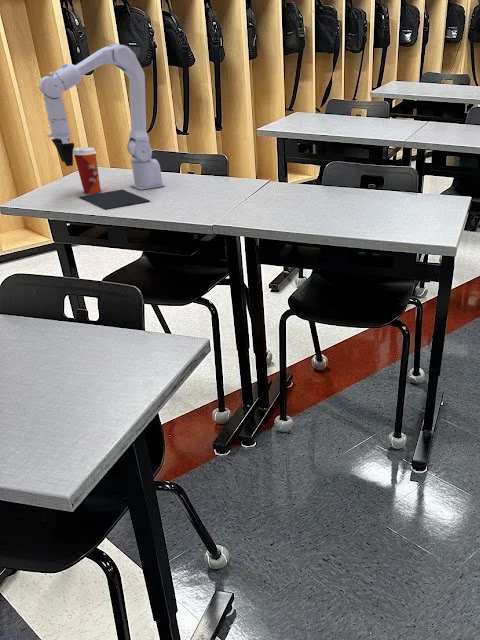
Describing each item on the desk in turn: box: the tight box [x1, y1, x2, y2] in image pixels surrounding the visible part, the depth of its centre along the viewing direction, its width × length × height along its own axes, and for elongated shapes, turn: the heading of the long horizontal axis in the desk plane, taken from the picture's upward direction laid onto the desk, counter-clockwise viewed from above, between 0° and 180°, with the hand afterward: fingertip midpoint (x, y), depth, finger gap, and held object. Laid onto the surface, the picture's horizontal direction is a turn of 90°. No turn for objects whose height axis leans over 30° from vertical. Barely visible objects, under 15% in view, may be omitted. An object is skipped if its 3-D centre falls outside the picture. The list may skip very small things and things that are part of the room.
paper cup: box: [73, 146, 102, 195], centre depth 228 cm, size 8×8×14 cm
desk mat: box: [79, 188, 151, 210], centre depth 224 cm, size 16×20×1 cm
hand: (67, 163), depth 223 cm, fingers open, 7 cm apart
